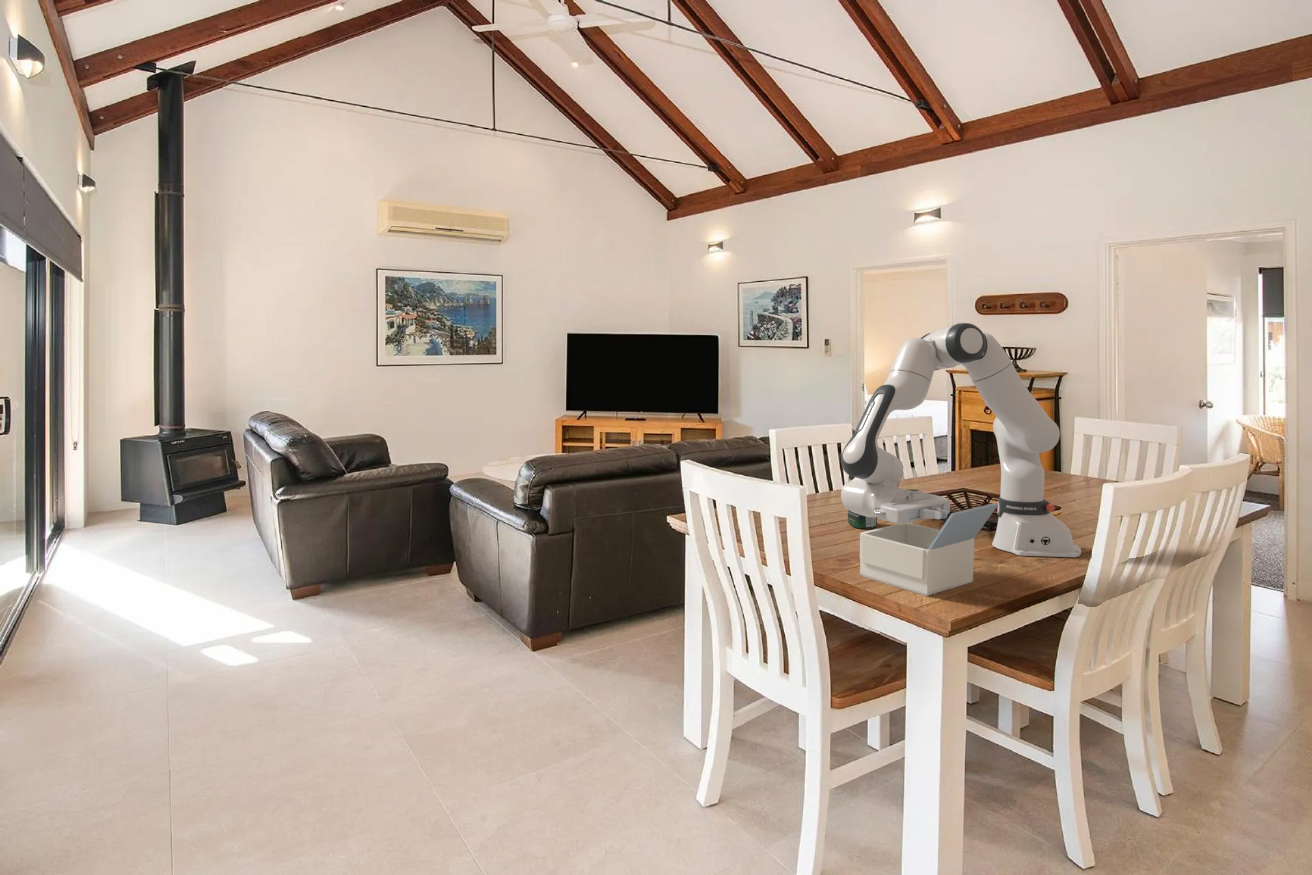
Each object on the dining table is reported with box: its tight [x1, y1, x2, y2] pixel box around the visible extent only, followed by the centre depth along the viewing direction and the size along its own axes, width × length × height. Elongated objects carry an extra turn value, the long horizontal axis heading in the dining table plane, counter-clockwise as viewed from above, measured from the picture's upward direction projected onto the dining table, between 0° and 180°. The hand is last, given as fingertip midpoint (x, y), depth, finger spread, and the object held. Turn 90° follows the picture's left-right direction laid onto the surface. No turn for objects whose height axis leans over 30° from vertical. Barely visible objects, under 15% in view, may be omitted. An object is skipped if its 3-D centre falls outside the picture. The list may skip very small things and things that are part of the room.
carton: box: [859, 522, 975, 597], centre depth 192 cm, size 21×19×11 cm
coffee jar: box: [847, 475, 878, 530], centre depth 246 cm, size 10×8×19 cm
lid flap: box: [929, 502, 998, 550], centre depth 180 cm, size 11×17×1 cm
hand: (943, 515), depth 185 cm, fingers closed
